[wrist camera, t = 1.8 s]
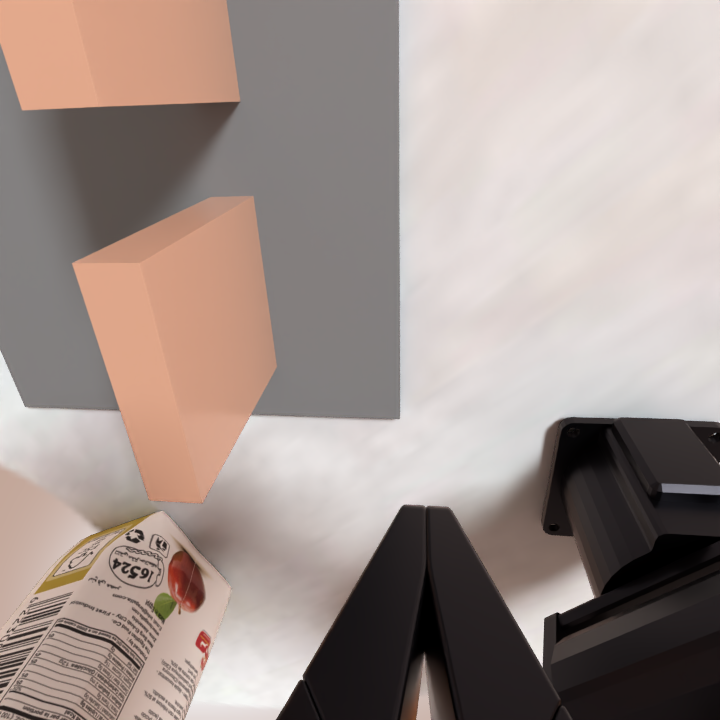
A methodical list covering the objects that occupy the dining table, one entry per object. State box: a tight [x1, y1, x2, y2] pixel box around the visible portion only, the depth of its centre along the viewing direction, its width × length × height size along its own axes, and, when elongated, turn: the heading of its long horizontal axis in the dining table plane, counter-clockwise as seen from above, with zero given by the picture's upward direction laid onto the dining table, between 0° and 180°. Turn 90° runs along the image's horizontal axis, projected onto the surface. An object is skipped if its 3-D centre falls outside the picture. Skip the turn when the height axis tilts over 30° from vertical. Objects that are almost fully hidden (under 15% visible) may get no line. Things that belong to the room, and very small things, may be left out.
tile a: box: [72, 196, 277, 503], centre depth 16 cm, size 7×2×8 cm, turn 2°
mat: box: [0, 0, 400, 419], centre depth 18 cm, size 22×18×1 cm
